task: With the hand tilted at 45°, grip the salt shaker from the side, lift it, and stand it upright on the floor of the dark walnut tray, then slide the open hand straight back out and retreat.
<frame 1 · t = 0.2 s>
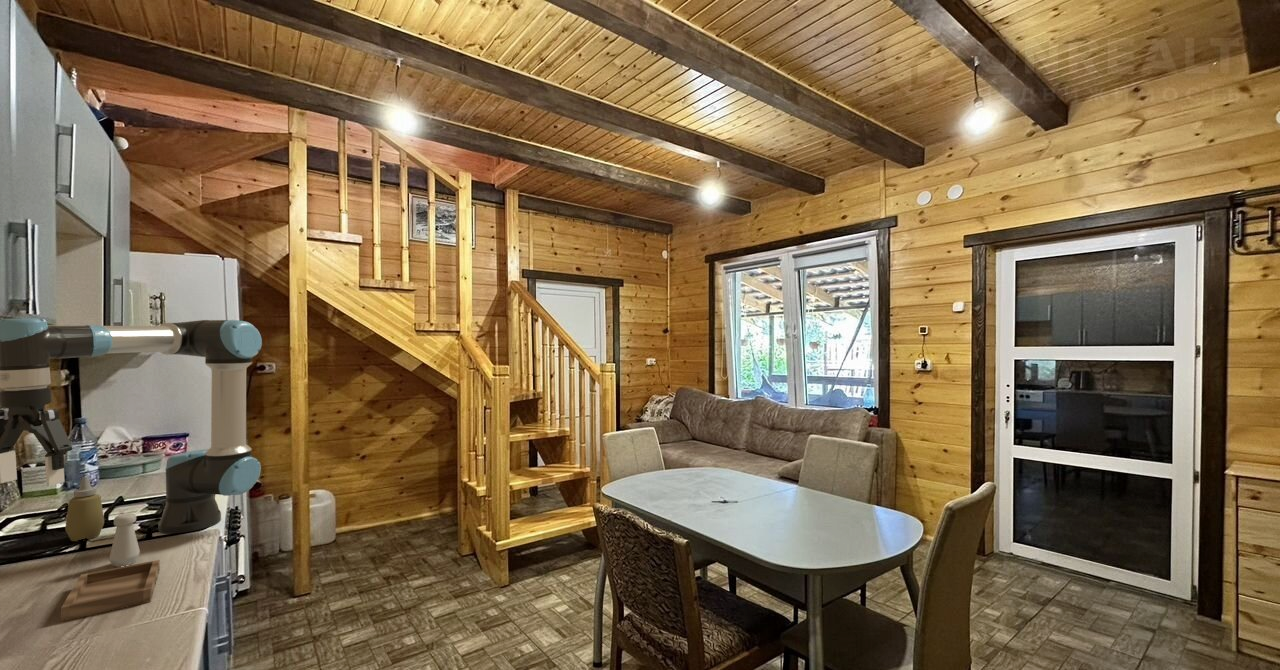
hand: (31, 482, 119), 28 cm above the countertop, tool pointing down, fingers open, 13 cm apart
squeeze bottle: (85, 538, 158), on the countertop
walnut tray: (114, 594, 125), on the countertop
salt shaker: (124, 564, 141), on the countertop
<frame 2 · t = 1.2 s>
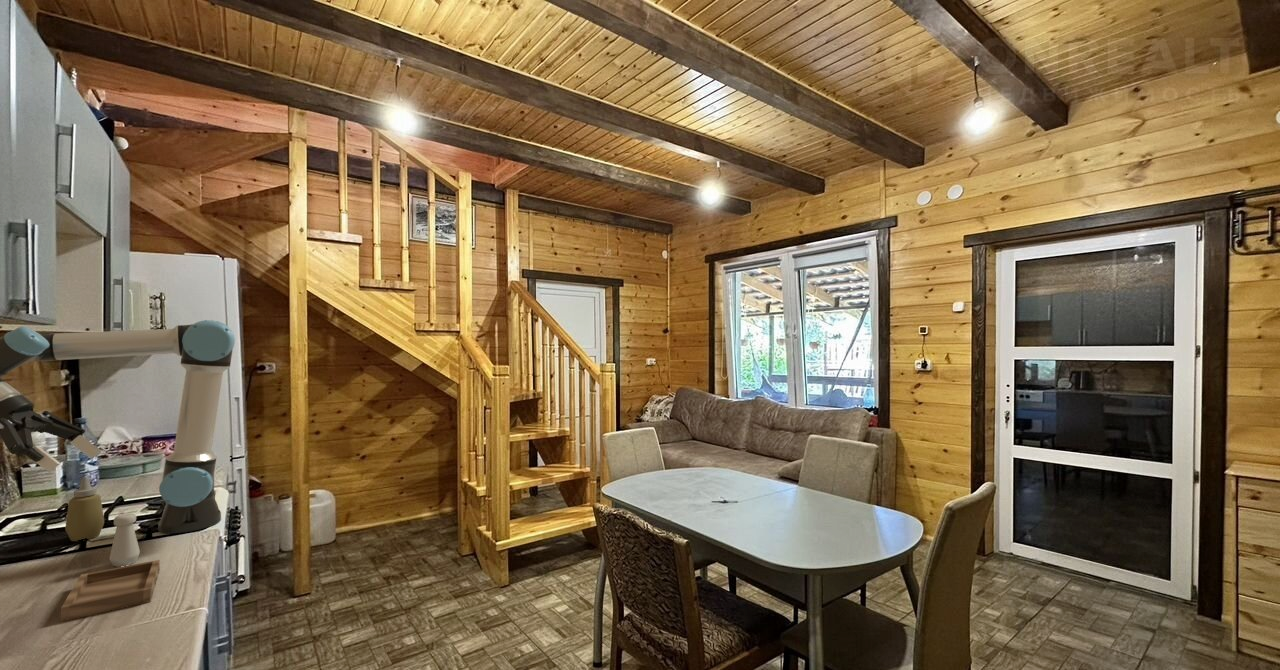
hand: (76, 461, 138), 28 cm above the countertop, tool tilted 45°, fingers open, 13 cm apart
nothing on the countertop moved.
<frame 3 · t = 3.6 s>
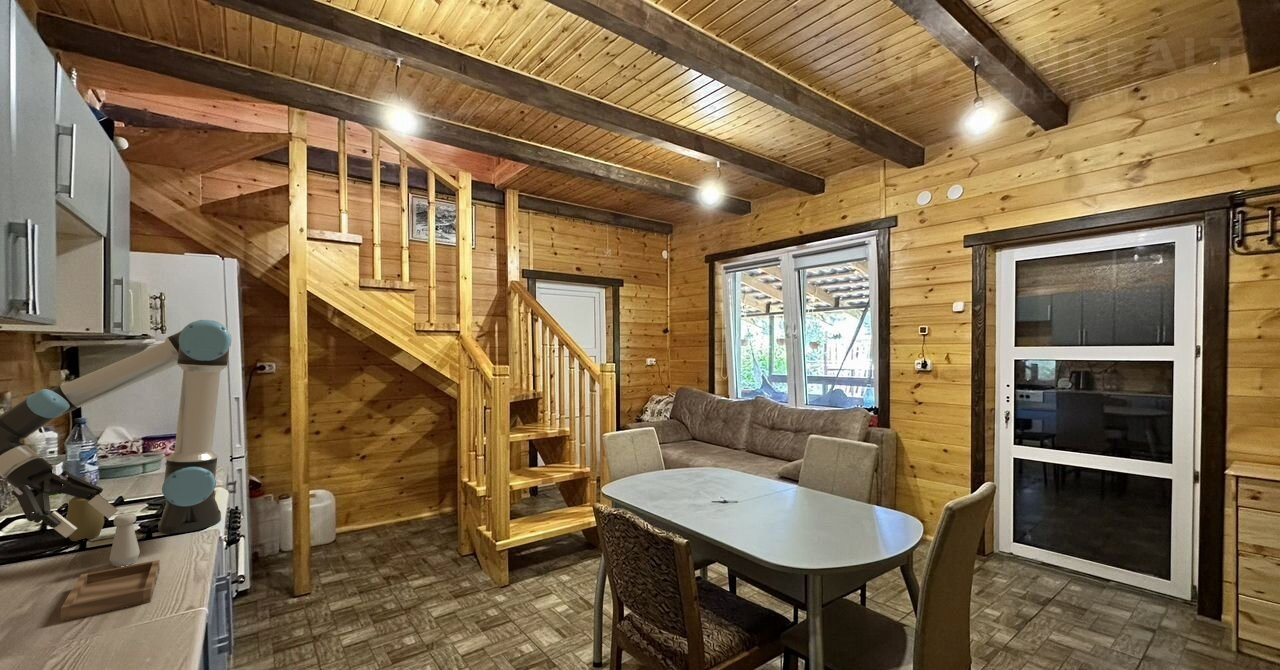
hand: (93, 523, 139), 11 cm above the countertop, tool tilted 45°, fingers open, 13 cm apart
nothing on the countertop moved.
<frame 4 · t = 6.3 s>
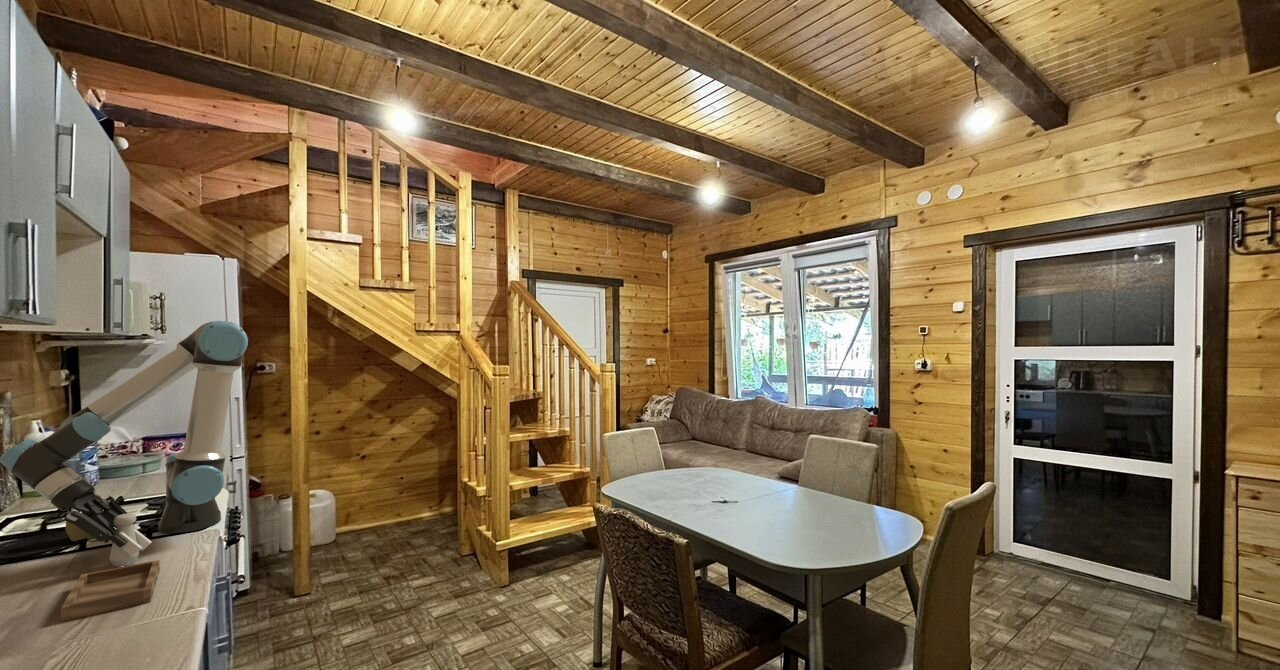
hand: (142, 549, 141), 4 cm above the countertop, tool tilted 45°, fingers closed on salt shaker, 3 cm apart
salt shaker: (124, 564, 141), on the countertop, touching gripper
everything else where it was.
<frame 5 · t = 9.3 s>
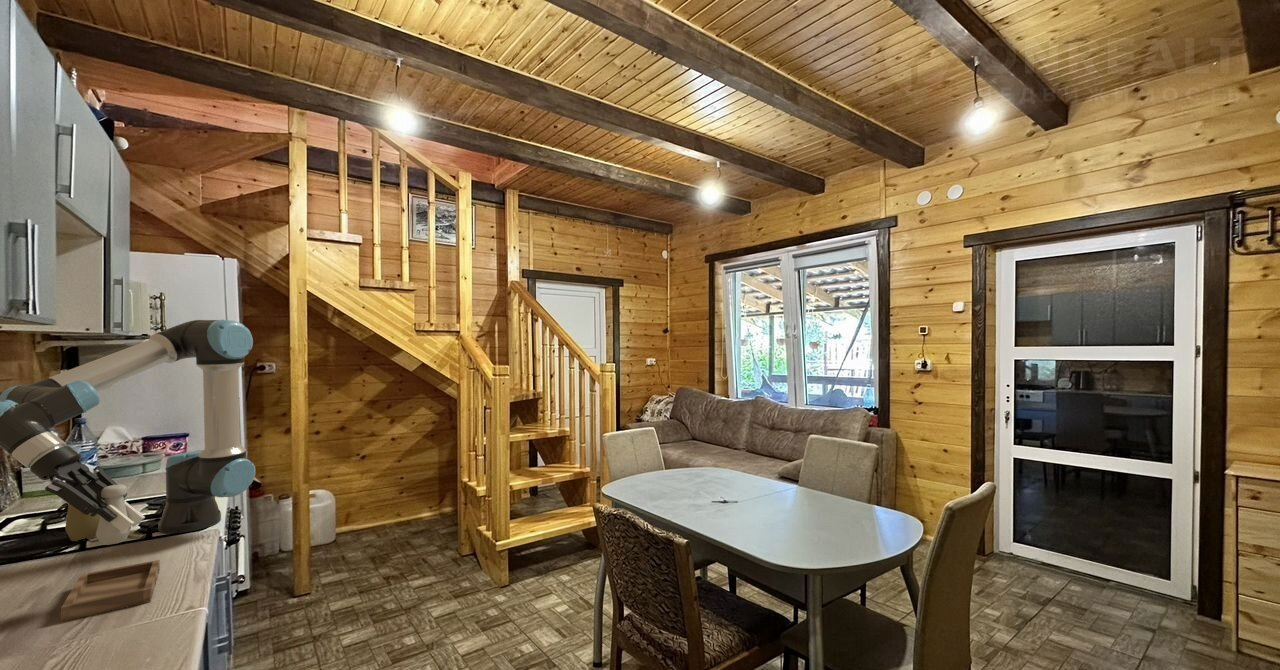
hand: (133, 524, 125), 16 cm above the countertop, tool tilted 45°, fingers closed on salt shaker, 3 cm apart
salt shaker: (113, 542, 125), point 12 cm above the countertop, touching gripper
everything else where it was.
when the fingers open (5 cm above the countertop, at t = 12.0 s): salt shaker stays where it is, resting on walnut tray.
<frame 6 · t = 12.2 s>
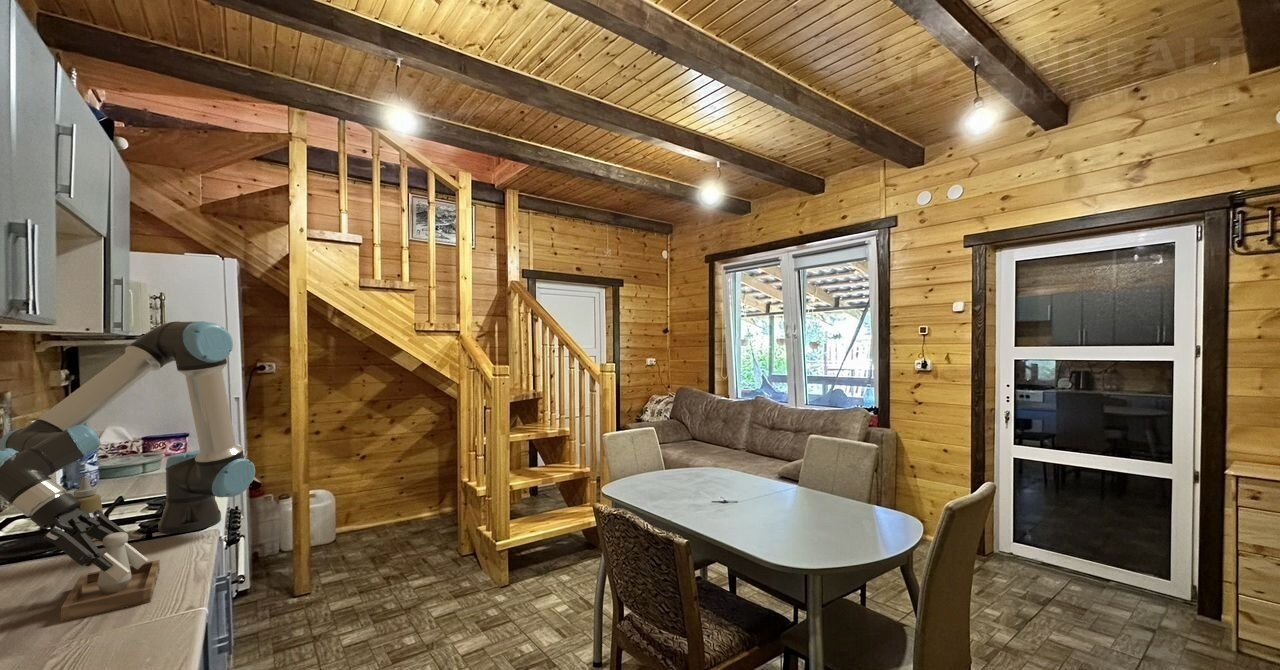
hand: (133, 570, 126), 5 cm above the countertop, tool tilted 45°, fingers open, 5 cm apart
salt shaker: (114, 590, 125), point 1 cm above the countertop, touching walnut tray
everything else where it was.
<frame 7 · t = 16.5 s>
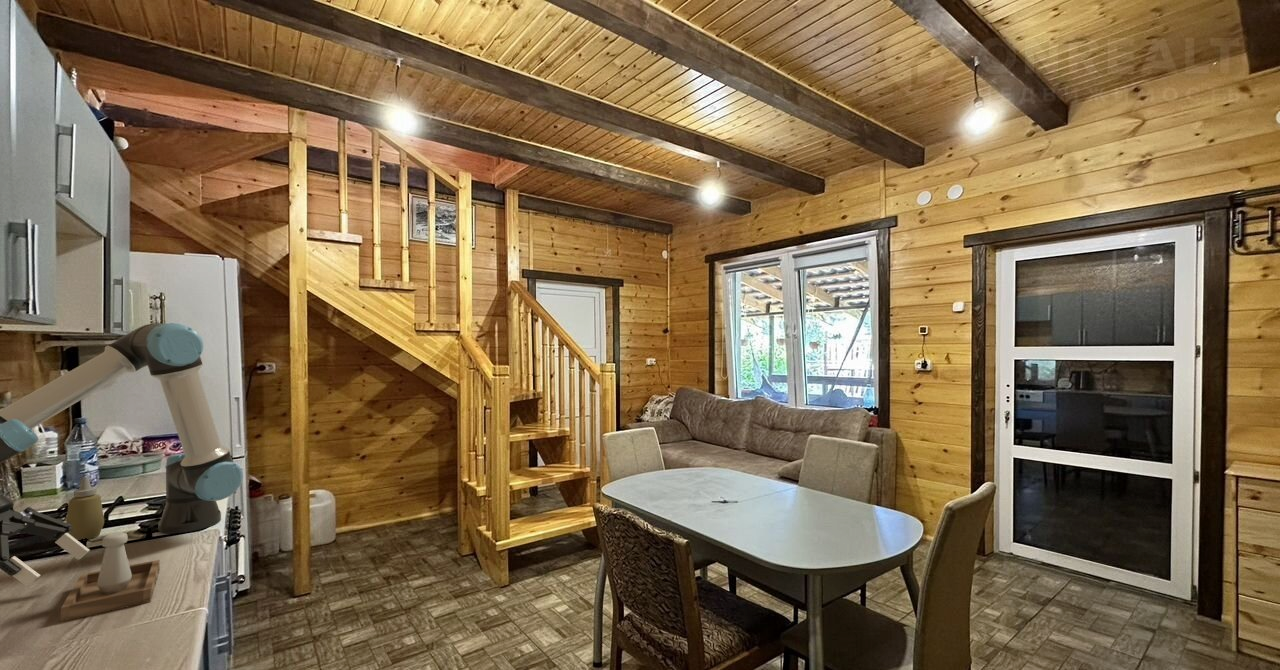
hand: (60, 567, 122), 7 cm above the countertop, tool tilted 45°, fingers open, 13 cm apart
nothing on the countertop moved.
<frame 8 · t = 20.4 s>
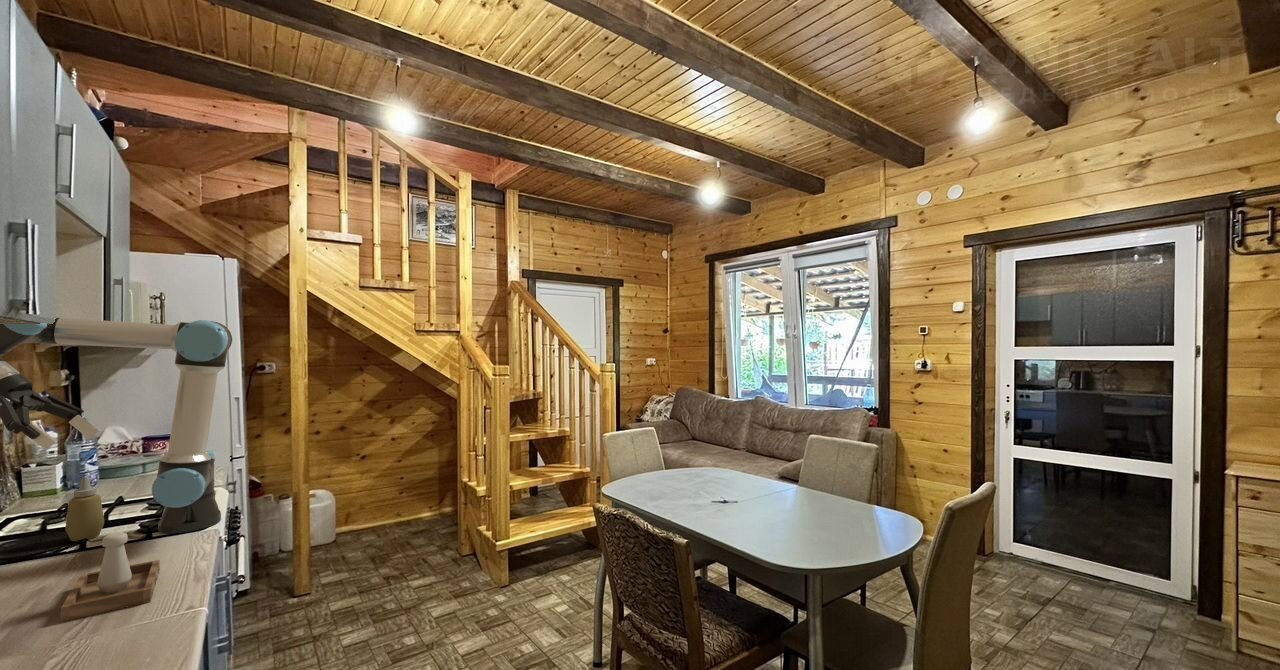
hand: (73, 440, 140), 33 cm above the countertop, tool tilted 45°, fingers open, 13 cm apart
nothing on the countertop moved.
at the end: salt shaker inside the target area on the walnut tray (0.1 cm from its centre), point 0.8 cm above the walnut tray's base; salt shaker tilted 0°; the gripper is holding nothing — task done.
